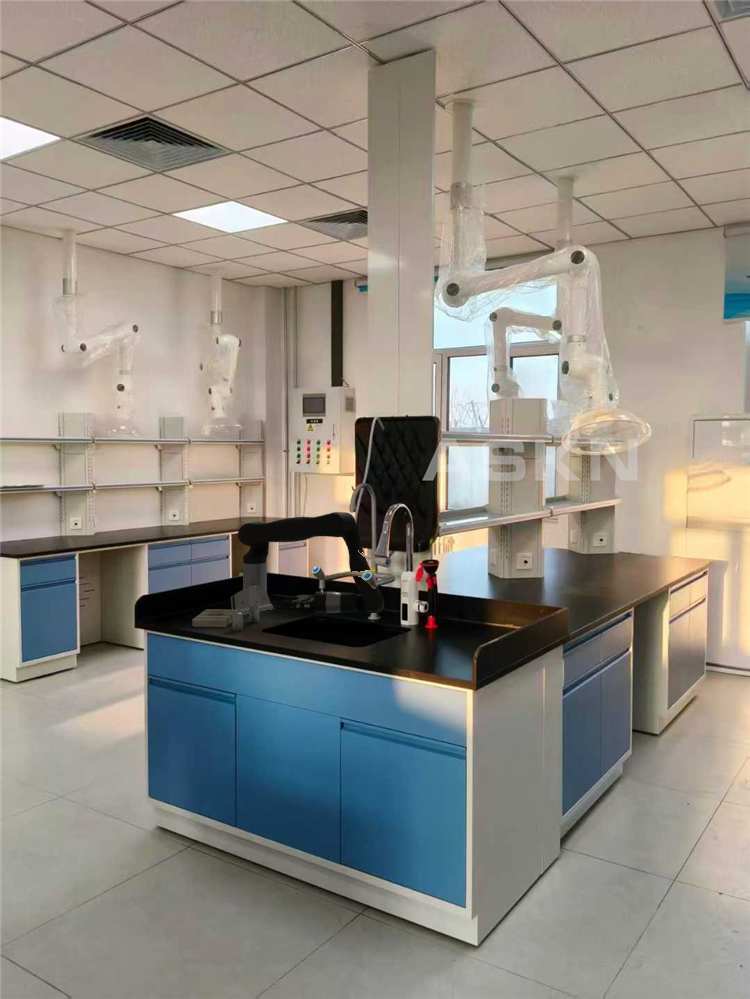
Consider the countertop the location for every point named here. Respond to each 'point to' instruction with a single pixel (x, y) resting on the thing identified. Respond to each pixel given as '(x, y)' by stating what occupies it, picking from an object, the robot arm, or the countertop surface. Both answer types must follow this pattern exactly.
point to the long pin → (254, 603)
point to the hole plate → (213, 618)
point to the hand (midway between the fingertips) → (283, 601)
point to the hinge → (242, 601)
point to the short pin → (237, 621)
